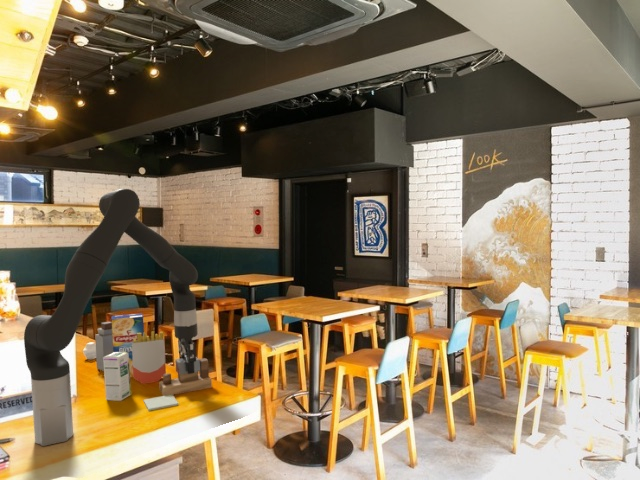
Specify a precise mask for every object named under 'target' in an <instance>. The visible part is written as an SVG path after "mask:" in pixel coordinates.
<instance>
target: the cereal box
mask: <svg viewBox="0 0 640 480" xmlns="http://www.w3.org/2000/svg"><path fill="white" fill-rule="evenodd" d="M110 321H111V322H112V335H113V352H128V354H129V368H130V378H132V377H133V378H134V376H133V357H132V343H134V342H133V339H135V340H136V341H137V333H141V336H143V333H145V328H144V315H143V313H142V312H140V313H131V314H119V315H112V316H111V319H110Z"/></svg>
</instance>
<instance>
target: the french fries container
mask: <svg viewBox="0 0 640 480" xmlns="http://www.w3.org/2000/svg"><path fill="white" fill-rule="evenodd" d="M150 335H151V336H149V335H147V333H146V332H144V333H143V336H141V333H137V341H136V340H135V339H133V342H134V343H132V357H133V379H135V380H136V381H138V382H139V383H141V384H150V383H156V382H155V381H157V382H160V380H161V379H163V374H167V372H166V371H167V370H166V349H165V346H166V345H165V337H164V332H163V331H159V334H158V333H155V331H151V334H150Z"/></svg>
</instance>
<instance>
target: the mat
mask: <svg viewBox="0 0 640 480" xmlns="http://www.w3.org/2000/svg"><path fill="white" fill-rule="evenodd" d="M143 404H144V405H145V406H146V409H147V411H148V412H150V411H155V410H156V411H157V410H159V409H160V410H161V409H165V408H170V407H174V406H179V405H180V404H179V401H177V399H176V398H175V396H174V395H172V394H171V395H166V396H163V395H161V396H156V397H151V398H145V399H143Z"/></svg>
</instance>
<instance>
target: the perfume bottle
mask: <svg viewBox="0 0 640 480" xmlns="http://www.w3.org/2000/svg"><path fill="white" fill-rule="evenodd" d="M100 326H101V327H99V328H97V329H96V330H97V332H98V333H97V334H96V333H95V334H94V340H95V341H94V343H95V345H96V358H95V359H96V369H97V370H99V371H101V370H102V371H101V372H104V363H103V357H105V356H107V355H109V354H112V353H113V335H112V321H103V322H100Z"/></svg>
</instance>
